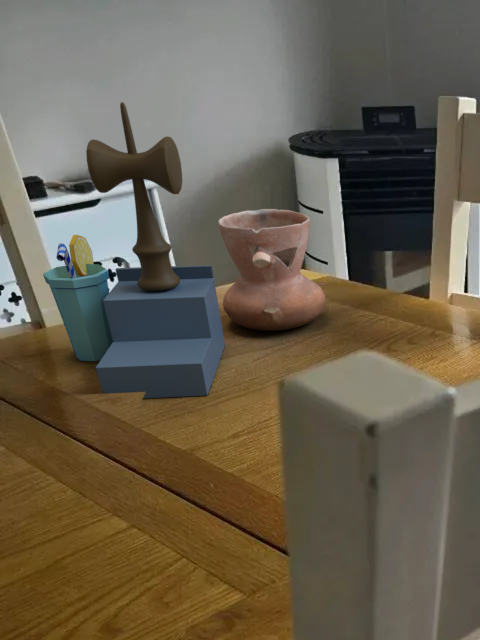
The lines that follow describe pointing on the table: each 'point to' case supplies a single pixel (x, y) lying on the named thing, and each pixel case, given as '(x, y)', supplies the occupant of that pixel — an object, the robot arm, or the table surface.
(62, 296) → the cup
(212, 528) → the table surface
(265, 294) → the ceramic jug
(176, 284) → the kendama
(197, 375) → the step rack
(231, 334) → the table surface
